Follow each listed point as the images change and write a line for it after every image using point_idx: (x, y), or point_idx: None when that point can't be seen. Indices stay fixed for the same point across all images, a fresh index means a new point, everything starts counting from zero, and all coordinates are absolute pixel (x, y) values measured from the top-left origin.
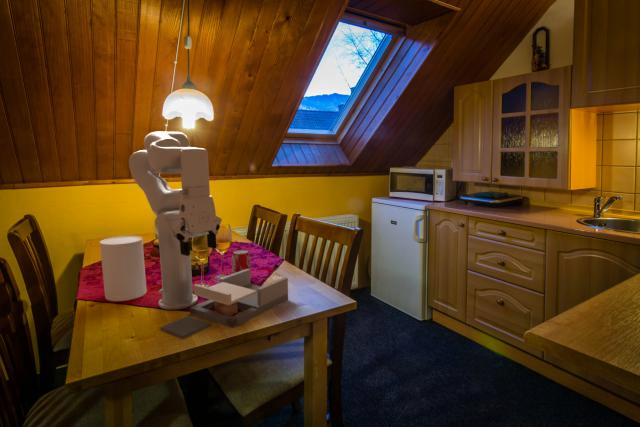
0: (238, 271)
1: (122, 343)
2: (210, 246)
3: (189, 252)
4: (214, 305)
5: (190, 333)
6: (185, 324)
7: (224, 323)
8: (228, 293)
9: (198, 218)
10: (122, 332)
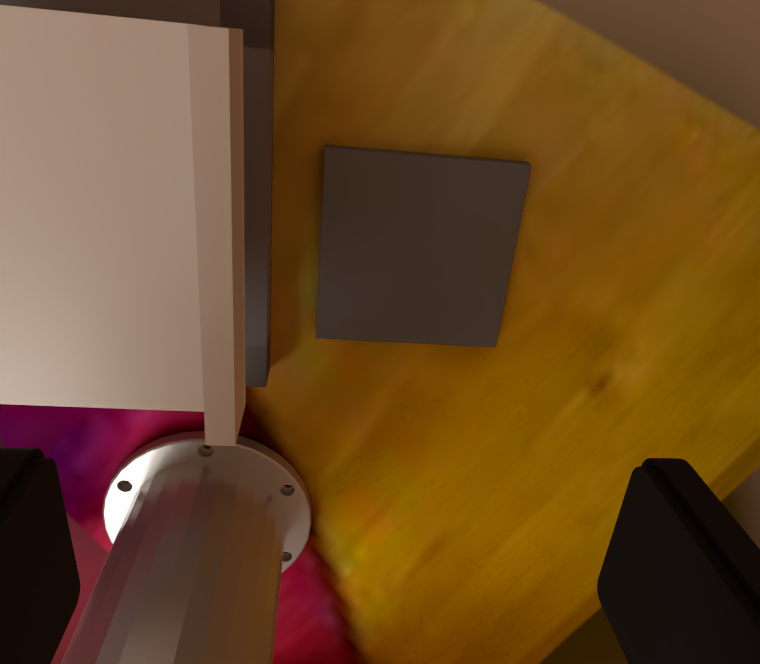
0: None
1: (664, 370)
2: (62, 550)
3: (681, 488)
4: None
5: (477, 158)
6: (412, 264)
7: (272, 69)
8: (199, 54)
9: None
10: (579, 453)
